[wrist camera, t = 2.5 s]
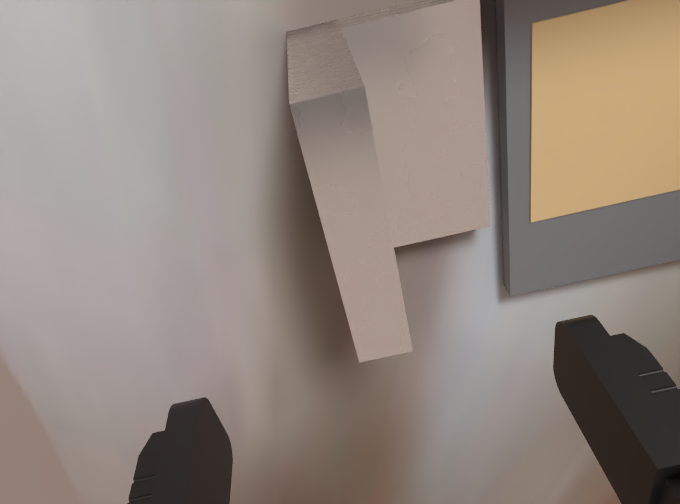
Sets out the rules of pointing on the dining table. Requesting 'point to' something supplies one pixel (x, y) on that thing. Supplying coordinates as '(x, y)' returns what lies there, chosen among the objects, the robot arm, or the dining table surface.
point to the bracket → (390, 146)
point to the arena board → (587, 138)
